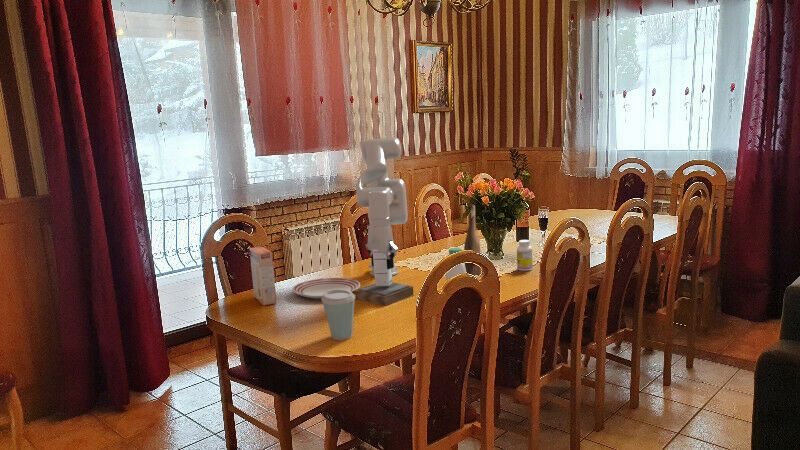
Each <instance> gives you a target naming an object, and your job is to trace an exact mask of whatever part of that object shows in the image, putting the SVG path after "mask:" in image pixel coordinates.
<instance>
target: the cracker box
mask: <svg viewBox="0 0 800 450" xmlns="http://www.w3.org/2000/svg"><path fill="white" fill-rule="evenodd" d="M249 256H250V257H249V258H250V267H251V268H250V269H251V276H252V278H251V280H252V289H253V298H254V297H255V298H256V299H257V300H258V301H259V302H260V303H259V302H258V303H259V304H260V305H261V306H264V307H265V306H270V305H275V303H276V304H277V292H276V281H275V280H276V279H275V270H274V258H273V256H274V255H273V251H271V250H269V249H267V248H266V247H265V246H255V247H249ZM255 298H254V299H255ZM256 299H255V300H256ZM257 300H256V301H257Z"/></svg>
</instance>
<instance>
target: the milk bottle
mask: <svg viewBox="0 0 800 450" xmlns="http://www.w3.org/2000/svg"><path fill="white" fill-rule="evenodd" d="M459 251H461V252H462V248H459V247H451V248H449V249H448V256H450V255H451V254H453V253H456V252H459ZM460 273H466V268H465V262H463V263H462V264H459V265H457V266H455V267H454V268H452V269H451V270H450V271H449V272H448V273H446V272H445V281H446V280H448V279H450V278H452V277H453V276H455V275H457V274H460Z"/></svg>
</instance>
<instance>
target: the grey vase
mask: <svg viewBox="0 0 800 450" xmlns="http://www.w3.org/2000/svg"><path fill="white" fill-rule="evenodd" d="M468 219H469V221H468V226H467V232H466V236H465V241H464V246H463V248H464V249H463V251H464V250H473V251H476V252H478V253H481V251H482V250H481V242H480V239H479V236H478V235H477V232H476V228H477V227H476V206H475V205H474V204H472V205H471V207H470V211H469V217H468ZM464 265H465V268H466V272H467V273H469V274H472V275H474V276H475V275H478V276H479V275H480V274H482V273H481V272H482V267H481V268H480V267H479V266H477V265H475V264H473V263H465V262H464Z"/></svg>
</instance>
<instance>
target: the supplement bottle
mask: <svg viewBox="0 0 800 450" xmlns="http://www.w3.org/2000/svg"><path fill="white" fill-rule="evenodd" d="M530 241H531V240H530V239H520V240H519V241H518V245H519V246H517V248H516V268H517V270H518V271H521V272H527V271H528V272H529V271H532V270H533V248H532V246H531V245H530V244H531V243H530Z"/></svg>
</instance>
